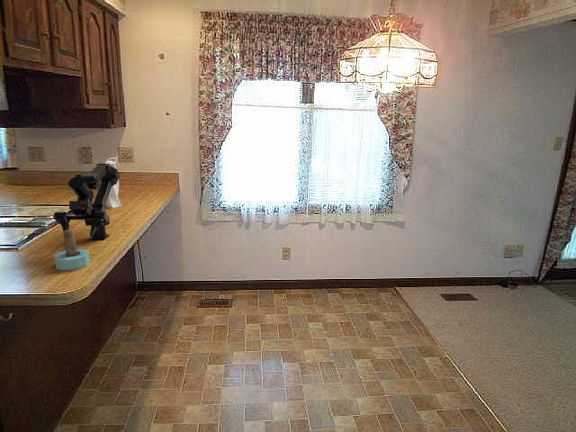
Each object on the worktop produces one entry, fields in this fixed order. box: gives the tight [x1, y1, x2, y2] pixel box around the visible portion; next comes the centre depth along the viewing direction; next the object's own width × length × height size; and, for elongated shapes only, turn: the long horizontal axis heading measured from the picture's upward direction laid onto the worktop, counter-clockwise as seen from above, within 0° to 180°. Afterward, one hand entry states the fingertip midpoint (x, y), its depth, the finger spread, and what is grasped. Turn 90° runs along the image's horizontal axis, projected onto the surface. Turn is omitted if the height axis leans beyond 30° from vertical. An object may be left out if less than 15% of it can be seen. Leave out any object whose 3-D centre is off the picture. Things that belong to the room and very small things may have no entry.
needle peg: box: [62, 229, 78, 257], centre depth 144 cm, size 4×4×13 cm
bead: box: [54, 248, 91, 271], centre depth 145 cm, size 11×11×4 cm
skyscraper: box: [104, 157, 122, 210], centre depth 221 cm, size 8×8×28 cm
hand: (77, 237), depth 151 cm, fingers open, 9 cm apart
